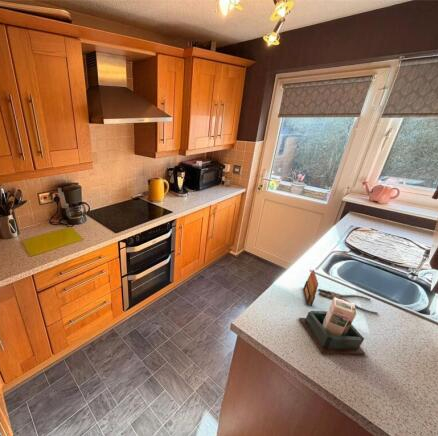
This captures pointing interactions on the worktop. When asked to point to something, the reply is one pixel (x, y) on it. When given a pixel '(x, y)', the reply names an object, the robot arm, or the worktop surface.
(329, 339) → the holder
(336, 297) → the pliers
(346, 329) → the syrup box
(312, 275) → the orange brown flat panel
